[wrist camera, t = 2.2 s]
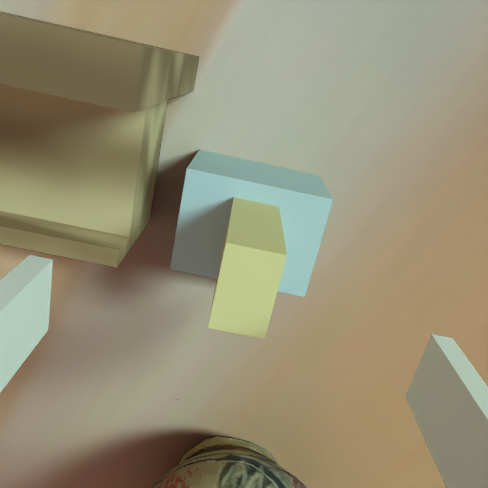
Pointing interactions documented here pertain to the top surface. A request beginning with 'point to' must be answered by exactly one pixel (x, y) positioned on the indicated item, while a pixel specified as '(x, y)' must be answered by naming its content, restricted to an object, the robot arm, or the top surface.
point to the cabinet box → (249, 235)
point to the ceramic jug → (227, 467)
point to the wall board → (81, 136)
